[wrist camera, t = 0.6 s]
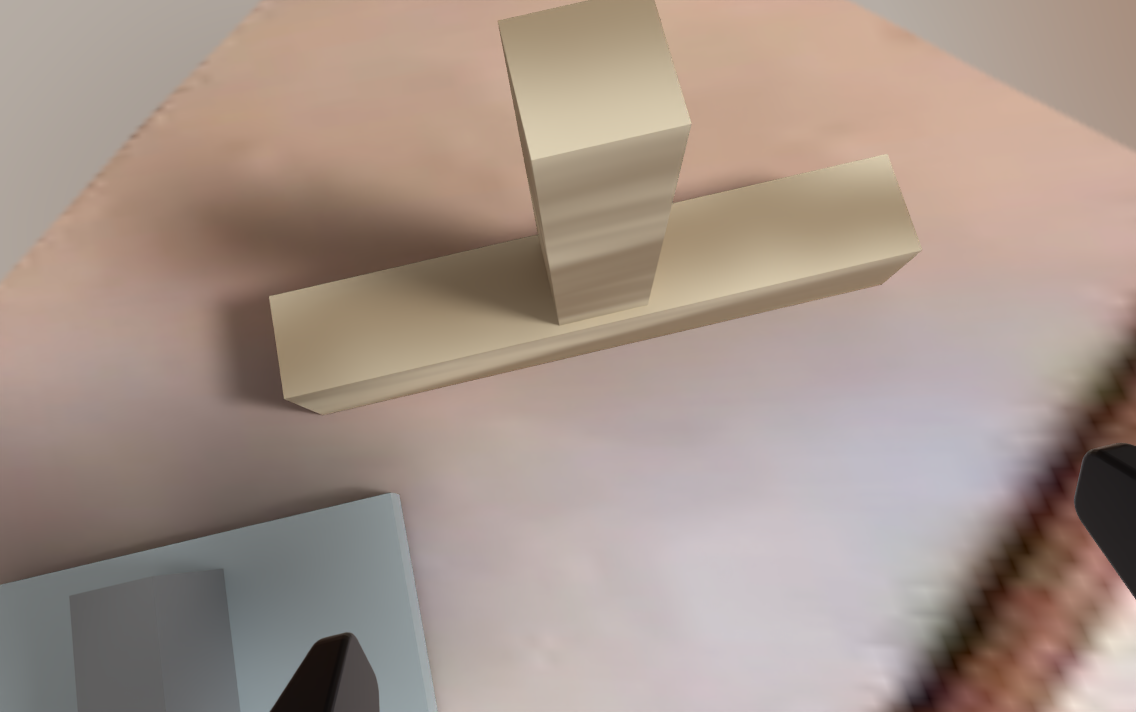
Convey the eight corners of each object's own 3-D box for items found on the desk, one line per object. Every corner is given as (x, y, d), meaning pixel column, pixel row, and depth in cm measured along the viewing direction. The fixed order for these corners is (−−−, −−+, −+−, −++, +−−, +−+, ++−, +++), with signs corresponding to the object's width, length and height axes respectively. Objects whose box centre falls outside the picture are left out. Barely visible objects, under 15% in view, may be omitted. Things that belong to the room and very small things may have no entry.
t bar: (881, 284, 24) (1185, 26, 12) (322, 415, 23) (27, 291, 11) (852, 198, 24) (1109, -131, 12) (308, 324, 24) (16, 114, 12)
